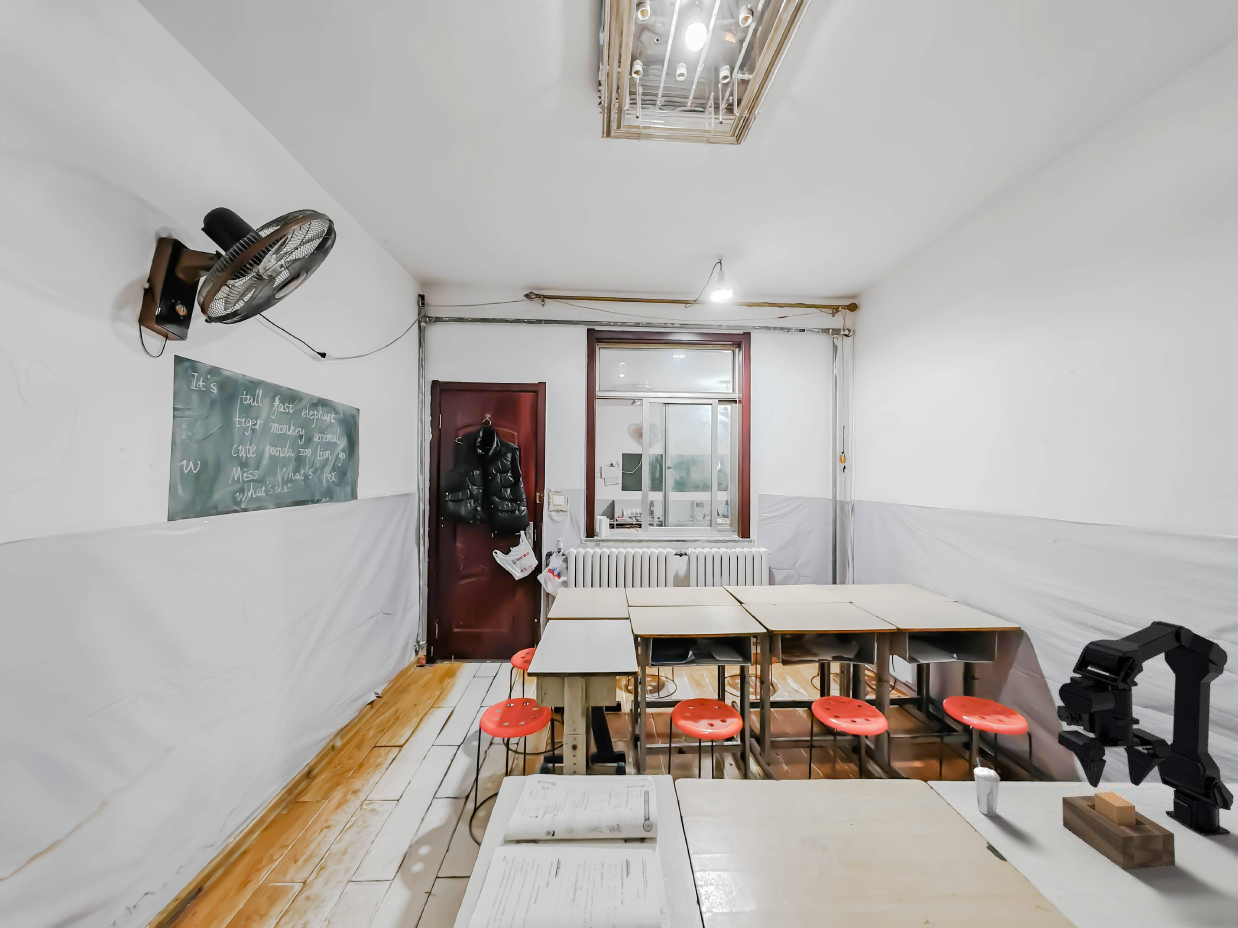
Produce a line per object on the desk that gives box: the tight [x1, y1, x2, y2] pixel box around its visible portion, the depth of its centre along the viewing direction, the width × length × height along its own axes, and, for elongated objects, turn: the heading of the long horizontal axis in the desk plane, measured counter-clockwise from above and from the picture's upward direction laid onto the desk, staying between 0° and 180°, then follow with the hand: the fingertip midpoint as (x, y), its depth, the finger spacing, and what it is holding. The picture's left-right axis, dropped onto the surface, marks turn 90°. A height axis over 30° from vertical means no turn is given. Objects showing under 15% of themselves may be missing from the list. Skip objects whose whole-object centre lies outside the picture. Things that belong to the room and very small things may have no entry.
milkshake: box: [973, 757, 1001, 817], centre depth 104 cm, size 5×5×10 cm
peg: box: [1094, 791, 1136, 826], centre depth 94 cm, size 4×4×8 cm
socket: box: [1061, 795, 1176, 870], centre depth 94 cm, size 11×11×6 cm
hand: (1114, 785), depth 94 cm, fingers open, 9 cm apart
